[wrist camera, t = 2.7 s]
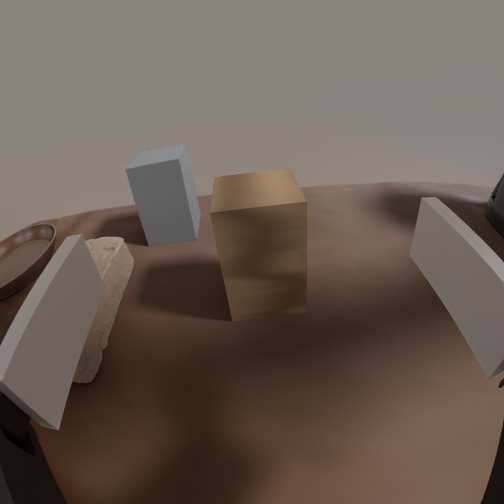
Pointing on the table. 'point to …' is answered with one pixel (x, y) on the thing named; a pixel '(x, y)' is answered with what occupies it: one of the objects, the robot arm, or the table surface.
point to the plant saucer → (24, 257)
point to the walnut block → (261, 243)
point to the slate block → (165, 195)
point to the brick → (104, 301)
